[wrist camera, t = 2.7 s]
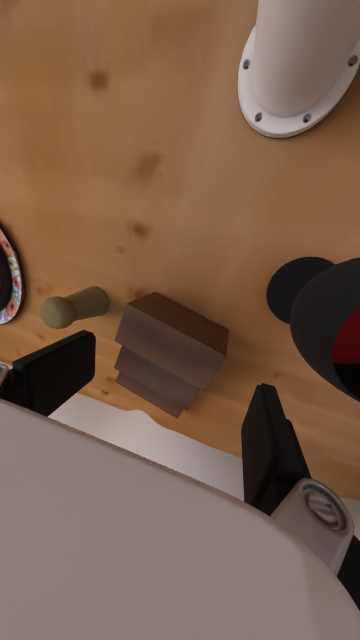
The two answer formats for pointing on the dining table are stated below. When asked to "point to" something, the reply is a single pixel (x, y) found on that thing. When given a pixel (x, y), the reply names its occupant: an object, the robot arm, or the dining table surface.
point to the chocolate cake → (9, 281)
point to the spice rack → (167, 352)
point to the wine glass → (322, 316)
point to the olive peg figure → (74, 307)
